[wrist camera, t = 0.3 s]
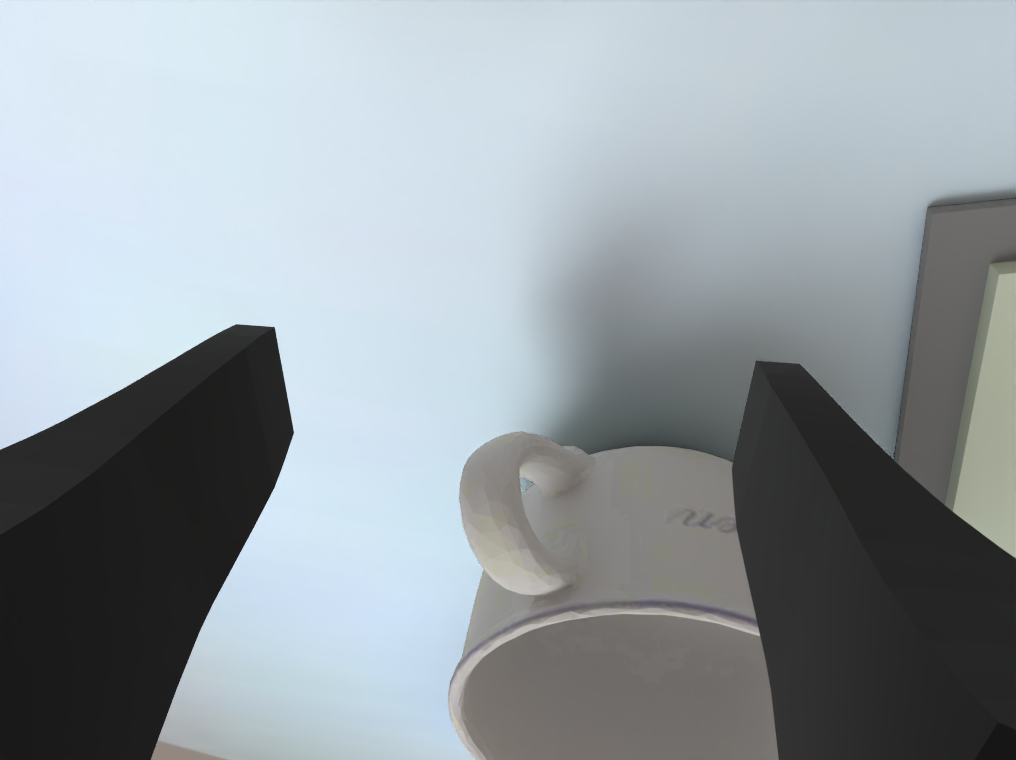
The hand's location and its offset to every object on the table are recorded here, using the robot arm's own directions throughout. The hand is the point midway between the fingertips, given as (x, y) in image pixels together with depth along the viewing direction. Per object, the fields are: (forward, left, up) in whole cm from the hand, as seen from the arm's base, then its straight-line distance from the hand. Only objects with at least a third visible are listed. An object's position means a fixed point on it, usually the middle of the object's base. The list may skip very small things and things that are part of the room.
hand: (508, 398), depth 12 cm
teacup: (-11, -1, -10) cm, 15 cm away
